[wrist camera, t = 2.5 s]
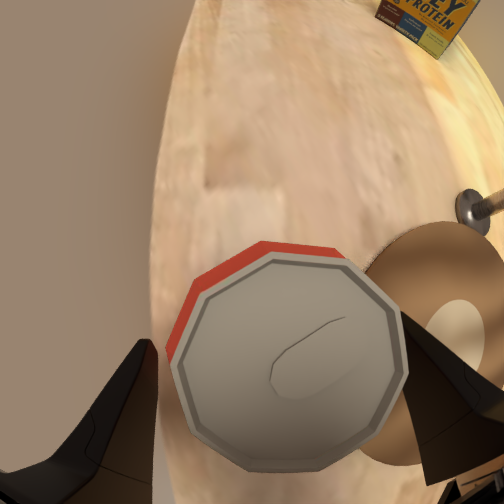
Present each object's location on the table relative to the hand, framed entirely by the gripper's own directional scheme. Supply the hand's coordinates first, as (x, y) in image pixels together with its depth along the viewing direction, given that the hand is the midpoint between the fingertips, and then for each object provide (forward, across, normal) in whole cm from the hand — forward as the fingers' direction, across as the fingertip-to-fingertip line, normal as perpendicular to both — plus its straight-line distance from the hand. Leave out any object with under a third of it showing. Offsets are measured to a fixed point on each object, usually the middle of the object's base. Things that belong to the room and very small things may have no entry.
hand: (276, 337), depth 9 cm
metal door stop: (+10, -20, +1) cm, 22 cm away
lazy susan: (+2, -14, +9) cm, 17 cm away
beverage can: (+5, 0, +6) cm, 8 cm away
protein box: (+31, -28, -20) cm, 47 cm away
